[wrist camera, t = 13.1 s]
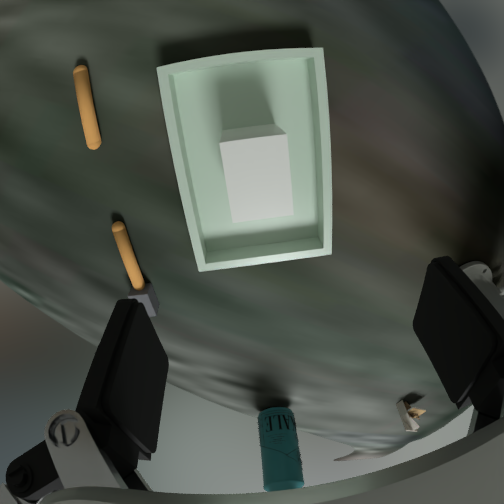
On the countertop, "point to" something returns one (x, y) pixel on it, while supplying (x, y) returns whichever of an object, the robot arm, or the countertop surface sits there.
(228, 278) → the countertop surface
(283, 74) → the tray
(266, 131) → the pale grey cuboid
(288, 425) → the beverage bottle
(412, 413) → the architectural model
